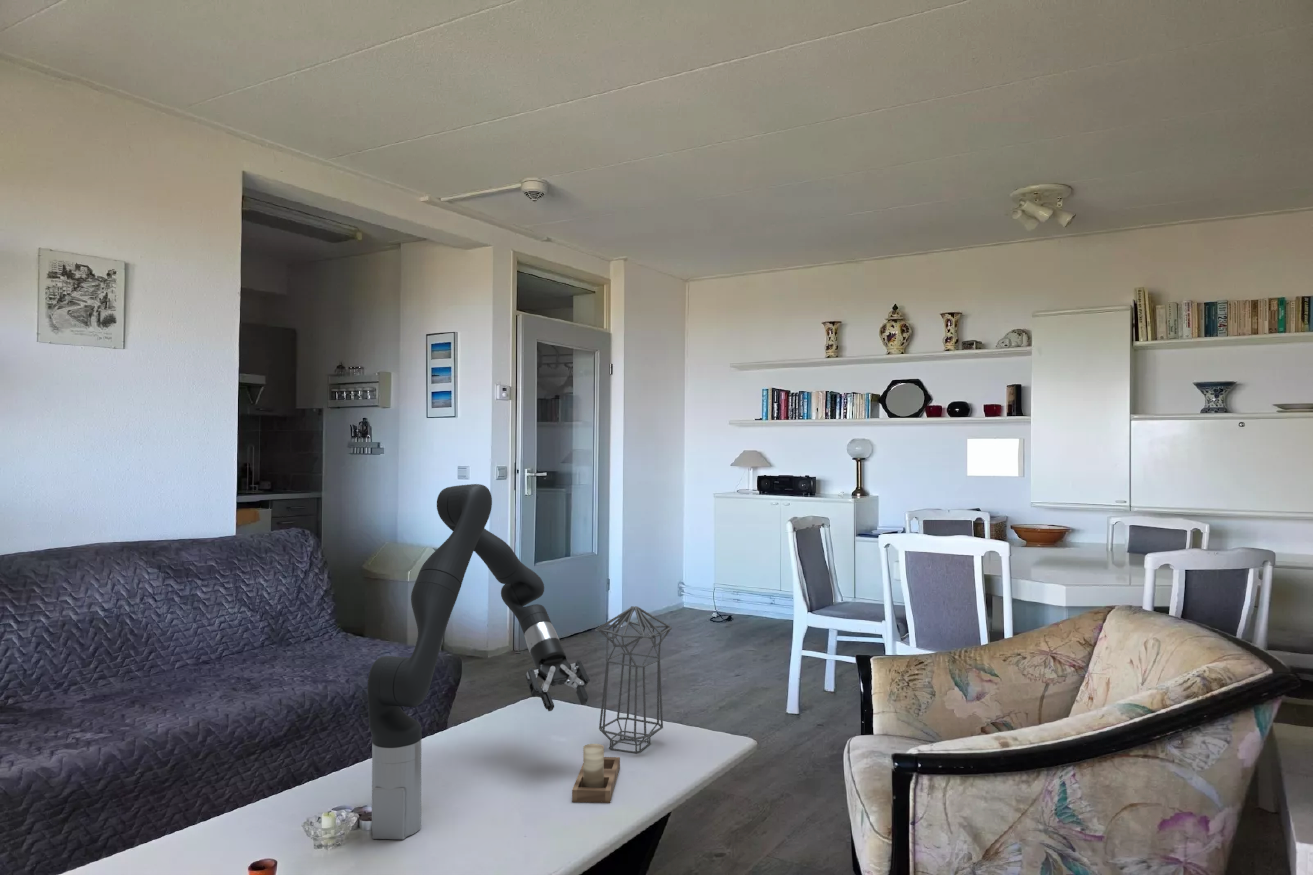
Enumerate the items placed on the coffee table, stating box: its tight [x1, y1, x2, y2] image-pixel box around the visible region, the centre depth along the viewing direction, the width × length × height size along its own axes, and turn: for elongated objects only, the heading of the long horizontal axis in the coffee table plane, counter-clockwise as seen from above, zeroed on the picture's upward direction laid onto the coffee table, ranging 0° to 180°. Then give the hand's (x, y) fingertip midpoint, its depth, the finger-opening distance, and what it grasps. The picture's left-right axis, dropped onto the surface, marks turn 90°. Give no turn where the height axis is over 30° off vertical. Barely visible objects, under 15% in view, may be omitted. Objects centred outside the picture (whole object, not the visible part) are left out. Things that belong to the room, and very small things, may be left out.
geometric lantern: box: [594, 606, 673, 754], centre depth 214 cm, size 16×16×35 cm
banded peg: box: [582, 743, 605, 788], centre depth 184 cm, size 4×4×10 cm
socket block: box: [571, 756, 621, 804], centre depth 189 cm, size 20×8×2 cm, turn 177°
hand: (568, 706), depth 193 cm, fingers open, 8 cm apart
